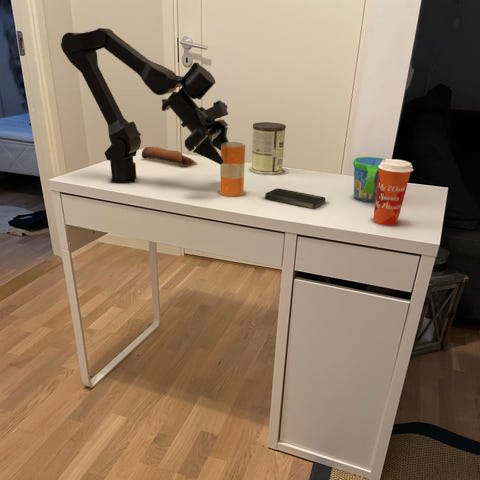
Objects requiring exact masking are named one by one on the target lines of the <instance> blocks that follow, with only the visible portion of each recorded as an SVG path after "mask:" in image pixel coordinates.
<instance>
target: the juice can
mask: <svg viewBox="0 0 480 480" xmlns="http://www.w3.org/2000/svg"><path fill="white" fill-rule="evenodd" d="M220 156H221V158H222V160H223V161H224V162H223V163H222V164H221V165H220V171H219V172H220V175H219V176H220V186H219V187H220V192H219V193H220V194H221V195H222V196H224V197H225V196H226V197H241V196H243V195H244V191H245V168H246V166H245V165H246V144H244V143H243V142H237V141H229V142H225V143H222V144H221V151H220Z"/></svg>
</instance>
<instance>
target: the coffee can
mask: <svg viewBox="0 0 480 480" xmlns="http://www.w3.org/2000/svg"><path fill="white" fill-rule="evenodd" d="M286 128H287V125H286V124H283V123H280V122H271V121H270V122H269V121H268V122H267V121H266V122H265V121H264V122H263V121H262V122H254V123H253V124H252V147H251V167H250V171H251V172H253V173H255V174H260V175H278V174H282V173H283V163H284V150H285V136H286Z"/></svg>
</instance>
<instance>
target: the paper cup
mask: <svg viewBox="0 0 480 480" xmlns="http://www.w3.org/2000/svg"><path fill="white" fill-rule="evenodd" d="M385 159H386V160H383V161H382V162H381V163H380V165H379V166H378V167H379V175H378V182H377V192H376V200H375V202H374V209H373V219H372V220H373V222H374V223H375V224H378V225H382V226H395V225H396V224H397V223H398V220H399V217H400V214H401V210H402V207H403V202H404V199H405V195H406V191H407V188H408V185H409V181H410V176H411V173H412V172H413V171H414V168H413V165H412V163H411V162H410V161H407V160H403V159H395V158H394V159H393V158H392V159H391V158H388V159H387V158H385Z"/></svg>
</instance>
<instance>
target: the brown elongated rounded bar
mask: <svg viewBox="0 0 480 480" xmlns="http://www.w3.org/2000/svg"><path fill="white" fill-rule="evenodd" d="M141 158H142V159H157V160H160V161H166V162H170V163H174V164H178V165H181V166H182V167H184V168H185V167H190V166H193V165H195V164H197V162H196V161H195V160H194V159H193V158H190V157H188V156H186V155H183V153H181V151H179V150H171V149H167V148H163V147H159V146H146V147H144V148H143V149H142V151H141Z"/></svg>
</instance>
